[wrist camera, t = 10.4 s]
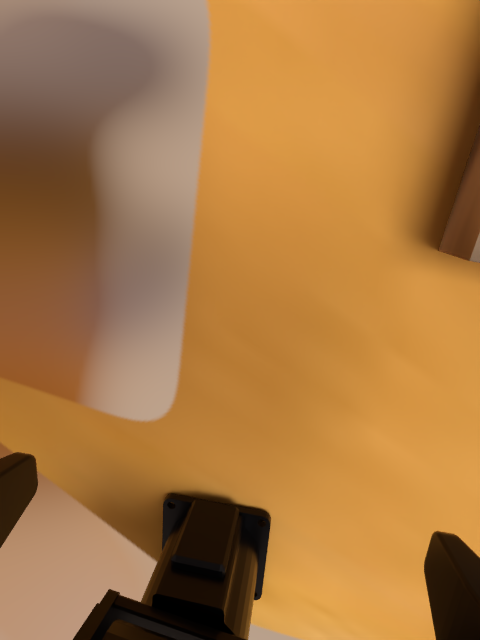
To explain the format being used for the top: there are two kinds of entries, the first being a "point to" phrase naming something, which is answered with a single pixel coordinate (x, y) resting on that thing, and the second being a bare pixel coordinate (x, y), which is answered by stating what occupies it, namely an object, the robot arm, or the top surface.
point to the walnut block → (466, 212)
